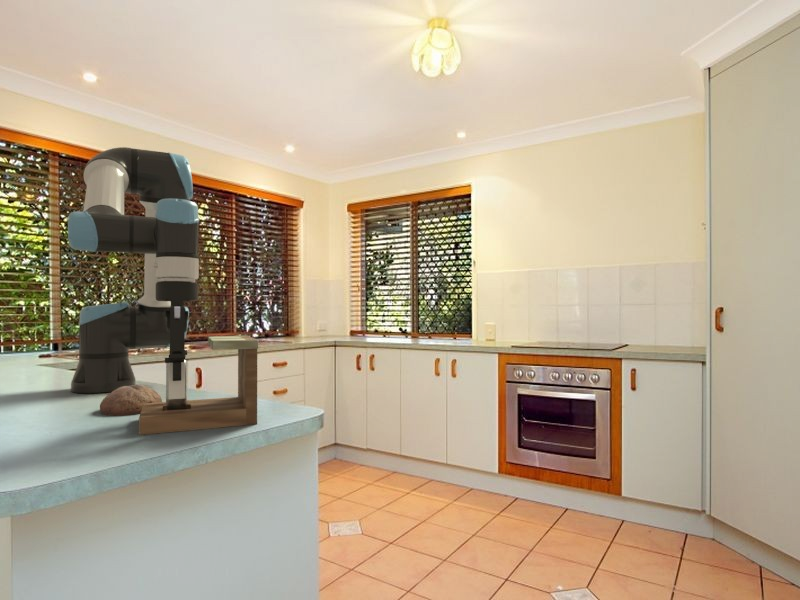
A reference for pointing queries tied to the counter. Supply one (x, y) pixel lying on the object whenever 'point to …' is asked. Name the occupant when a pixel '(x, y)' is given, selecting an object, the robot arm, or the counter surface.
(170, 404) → the peg
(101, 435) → the counter surface
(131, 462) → the counter surface
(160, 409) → the socket station
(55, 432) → the counter surface
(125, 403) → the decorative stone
